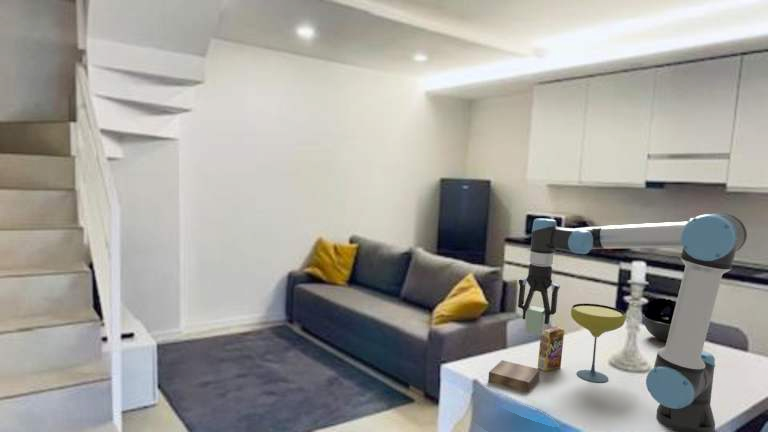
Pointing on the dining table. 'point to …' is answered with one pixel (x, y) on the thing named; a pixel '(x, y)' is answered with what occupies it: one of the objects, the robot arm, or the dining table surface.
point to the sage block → (534, 320)
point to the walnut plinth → (514, 376)
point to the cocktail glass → (596, 330)
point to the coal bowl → (659, 318)
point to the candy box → (551, 349)
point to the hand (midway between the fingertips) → (534, 330)
